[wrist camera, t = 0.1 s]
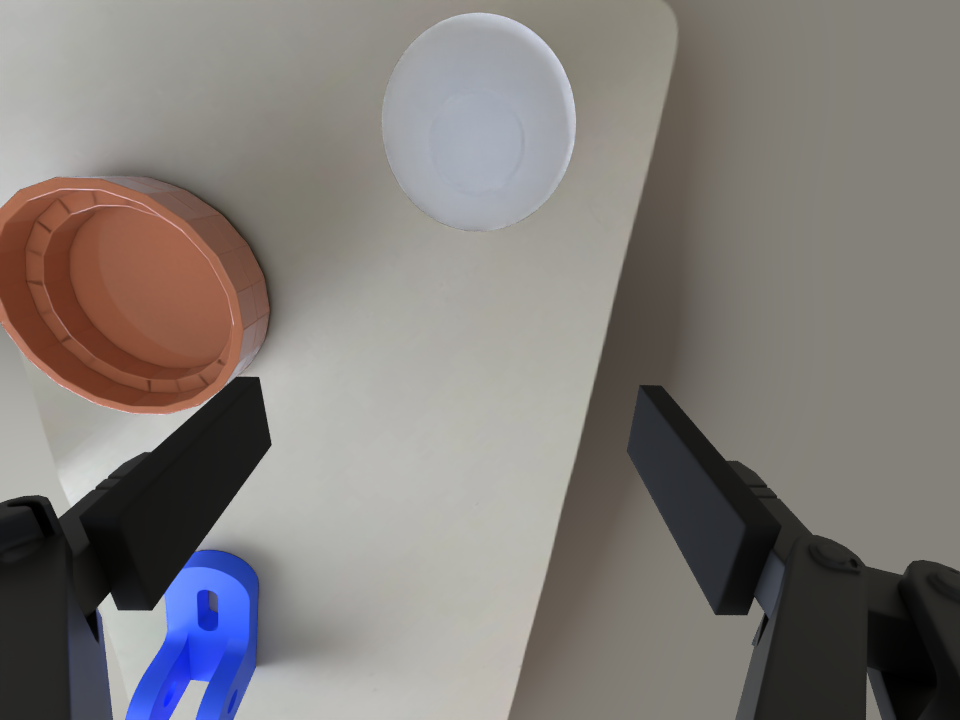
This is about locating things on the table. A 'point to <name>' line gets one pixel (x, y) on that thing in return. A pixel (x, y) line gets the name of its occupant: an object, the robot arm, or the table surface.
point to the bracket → (204, 640)
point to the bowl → (129, 291)
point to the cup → (478, 122)
